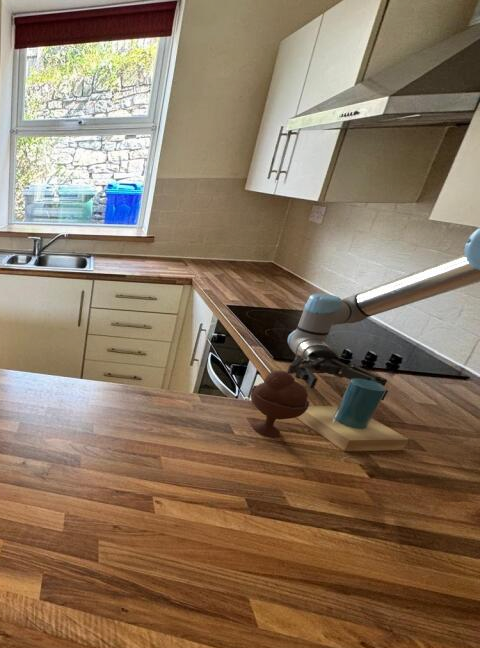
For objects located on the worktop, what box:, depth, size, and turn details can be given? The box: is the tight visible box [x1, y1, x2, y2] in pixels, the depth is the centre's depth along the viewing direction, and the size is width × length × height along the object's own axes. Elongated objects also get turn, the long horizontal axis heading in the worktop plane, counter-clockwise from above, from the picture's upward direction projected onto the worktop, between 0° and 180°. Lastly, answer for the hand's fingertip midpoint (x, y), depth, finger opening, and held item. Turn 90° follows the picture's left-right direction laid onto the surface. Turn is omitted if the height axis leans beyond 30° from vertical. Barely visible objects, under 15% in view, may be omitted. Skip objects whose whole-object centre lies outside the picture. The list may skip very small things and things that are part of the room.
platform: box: [295, 405, 410, 452], centre depth 95 cm, size 14×14×3 cm
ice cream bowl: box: [250, 370, 310, 439], centre depth 92 cm, size 11×11×15 cm
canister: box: [334, 378, 388, 429], centre depth 92 cm, size 6×6×10 cm
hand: (347, 389), depth 98 cm, fingers open, 13 cm apart
